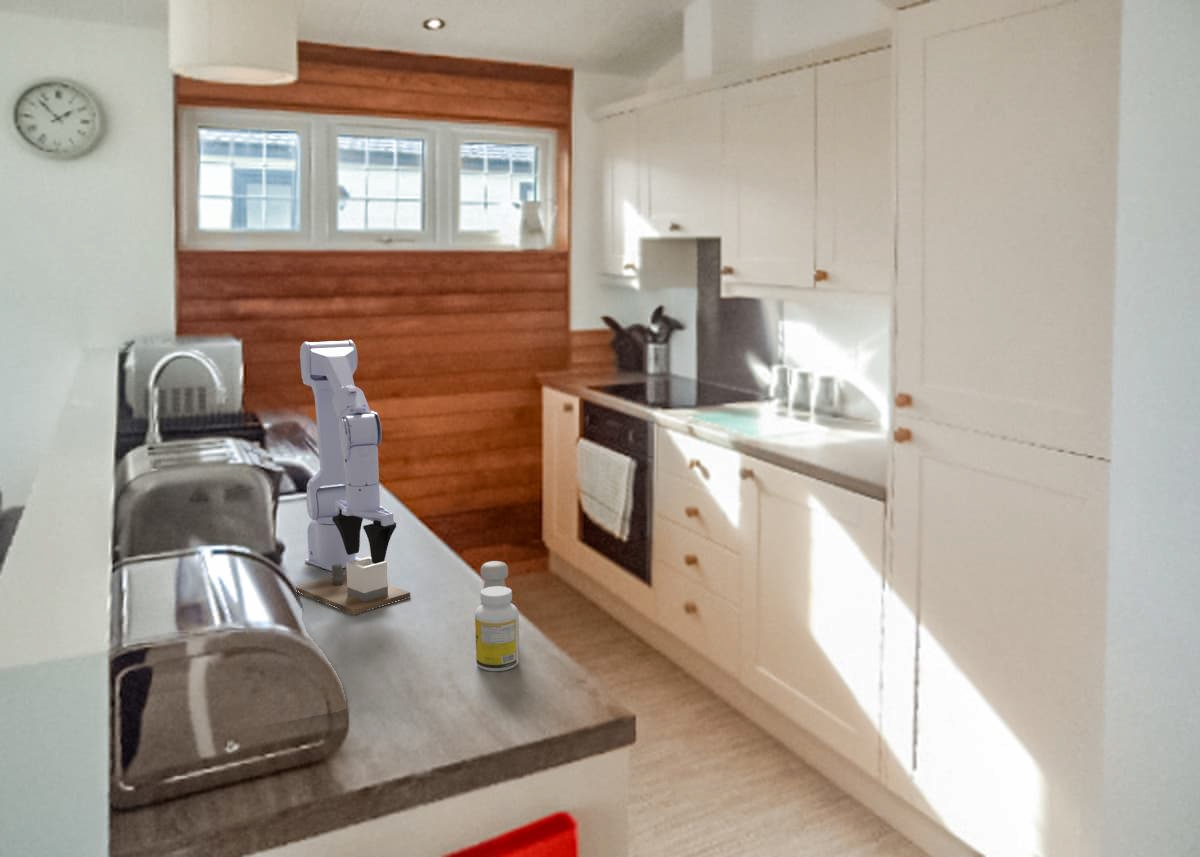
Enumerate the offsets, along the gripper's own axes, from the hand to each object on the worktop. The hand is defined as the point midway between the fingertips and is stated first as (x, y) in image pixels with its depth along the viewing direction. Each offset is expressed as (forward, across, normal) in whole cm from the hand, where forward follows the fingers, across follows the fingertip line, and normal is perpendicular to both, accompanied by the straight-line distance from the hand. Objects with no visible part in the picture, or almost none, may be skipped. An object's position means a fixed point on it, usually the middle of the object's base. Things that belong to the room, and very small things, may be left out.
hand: (365, 557), depth 189 cm
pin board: (+8, -4, 0) cm, 9 cm away
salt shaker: (+8, +32, +2) cm, 33 cm away
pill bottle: (+8, +39, -4) cm, 40 cm away
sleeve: (+7, 0, 0) cm, 7 cm away
